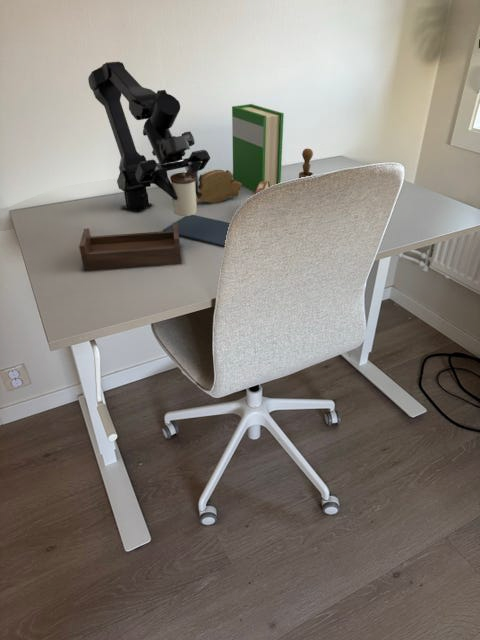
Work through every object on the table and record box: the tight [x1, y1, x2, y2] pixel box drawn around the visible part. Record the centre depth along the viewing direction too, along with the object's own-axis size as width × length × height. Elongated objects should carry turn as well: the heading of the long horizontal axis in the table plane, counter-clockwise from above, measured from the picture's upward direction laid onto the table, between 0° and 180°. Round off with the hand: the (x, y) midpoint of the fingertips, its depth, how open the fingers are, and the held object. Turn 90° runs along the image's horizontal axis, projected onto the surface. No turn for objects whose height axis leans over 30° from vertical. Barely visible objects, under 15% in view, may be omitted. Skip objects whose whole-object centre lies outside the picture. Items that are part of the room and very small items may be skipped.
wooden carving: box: [196, 169, 243, 204], centre depth 145 cm, size 16×5×10 cm, turn 120°
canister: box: [169, 172, 198, 217], centre depth 116 cm, size 6×6×10 cm
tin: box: [254, 181, 270, 195], centre depth 137 cm, size 15×3×8 cm, turn 168°
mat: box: [162, 214, 231, 248], centre depth 129 cm, size 20×13×1 cm, turn 61°
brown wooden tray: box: [78, 221, 182, 272], centre depth 115 cm, size 10×23×6 cm, turn 99°
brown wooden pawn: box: [298, 148, 314, 179], centre depth 136 cm, size 7×6×18 cm
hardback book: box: [231, 103, 285, 192], centre depth 153 cm, size 18×7×24 cm, turn 33°
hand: (187, 196), depth 115 cm, fingers closed on canister, 6 cm apart
